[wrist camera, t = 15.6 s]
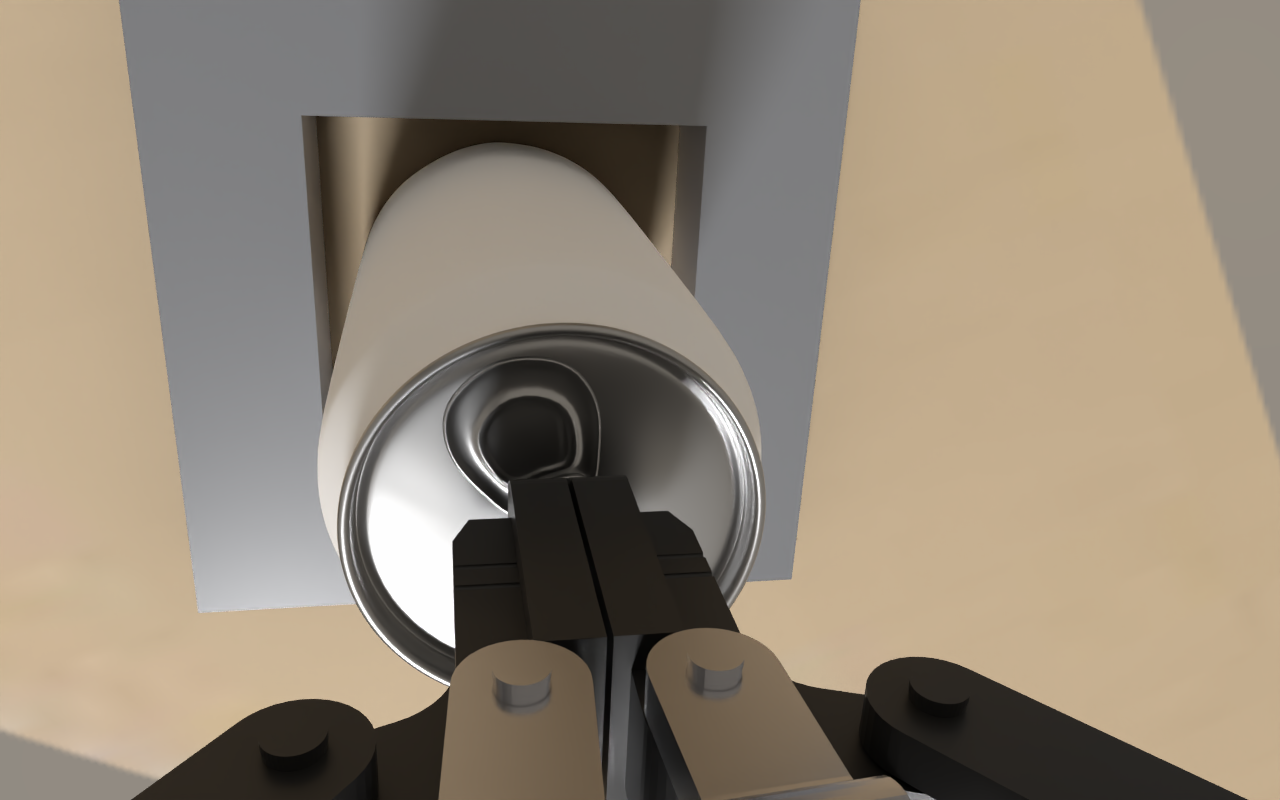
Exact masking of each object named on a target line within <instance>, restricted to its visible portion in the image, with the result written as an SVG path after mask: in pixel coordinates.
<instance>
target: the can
mask: <svg viewBox="0 0 1280 800" xmlns="http://www.w3.org/2000/svg"><path fill="white" fill-rule="evenodd" d="M619 475H626V477H627V478H628V481H629V484H630V486H631V489H632V491H633V494H634V497H635V499H636V502H637V505H638V507H639V510H640V512H650V511H669V512H670V513H672V514H673V515H674V516H675V517H677V518H678V519H679V520H681V521H682V522H683V523H685V524H686V525H687V526H688V527H690V528H691V529H692V530H693V531H694V534H695V536H696V538H697V540H698V542H699V544H700V547H701V549H702V551H703V557H705V558H706V560H707V562H708V564H709V566H710V568H711V571H712V576H714V577H715V579H716V582H717V584H718V586H719V588H720V590H721V592H722V595H723V597H724V599H725V601H726V603H727V606H728V608H729V609H730V608H731V606H732V605H733V603H734V602H735V600H736V599H737V597H738V595H739V594H740V592H741V590H742V588H743V587H744V585H745V583H746V581H747V579H748V577H749V575H750V572H751V570H752V568H753V565H754V562H755V560H756V557H757V554H758V550H759V547H760V543H761V539H762V534H763V529H764V522H765V510H766V492H765V480H764V474H763V468H762V464H761V434H760V425H759V419H758V414H757V410H756V406H755V402H754V399H753V396H752V393H751V390H750V387H749V385H748V382H747V380H746V377H745V375H744V373H743V371H742V368H741V366H740V364H739V362H738V360H737V359H736V357H735V355H734V353H733V352H732V350H731V348H730V347H729V345H728V344H727V342H726V341H725V339H724V338H723V336H722V335H721V333H720V332H719V330H718V329H717V327H716V326H715V325H714V323H713V322H712V321H711V319H710V318H709V317H708V315H707V314H706V313H705V311H704V310H703V309H702V307H701V306H700V305H699V303H698V302H697V301H696V299H695V298H694V297H693V295H692V294H691V293H690V291H689V290H688V289H687V288H686V286H685V285H684V284H683V282H682V281H681V280H680V278H679V277H678V276H677V275H676V273H675V272H674V271H673V269H672V268H671V267H670V266H669V264H668V263H667V262H666V260H665V259H664V258H663V257H662V255H661V254H660V253H659V251H658V250H657V249H656V248H655V246H654V245H653V244H652V243H651V241H650V240H649V239H648V237H647V236H646V235H645V234H644V232H643V231H642V230H641V229H640V227H639V226H638V225H637V224H636V222H635V221H634V220H633V219H632V217H631V216H630V215H629V214H628V212H627V211H626V210H625V209H624V207H623V206H622V205H621V204H620V203H619V201H618V200H617V199H616V198H615V197H614V196H613V194H612V193H611V192H610V191H609V190H608V189H607V188H606V187H605V186H604V185H603V184H602V183H601V182H600V181H599V180H598V179H596V178H595V177H594V176H593V175H592V174H590V173H589V172H588V171H586V170H585V169H583V168H582V167H580V166H579V165H577V164H576V163H574V162H572V161H570V160H568V159H566V158H564V157H562V156H560V155H558V154H555V153H553V152H550V151H547V150H544V149H540V148H537V147H532V146H527V145H521V144H514V143H501V142H493V143H483V144H478V145H473V146H469V147H466V148H463V149H460V150H457V151H454V152H452V153H450V154H447V155H445V156H443V157H441V158H439V159H437V160H435V161H434V162H432V163H430V164H429V165H427V166H425V167H424V168H422V169H421V170H419V171H418V172H416V173H415V174H414V175H412V176H411V177H410V178H409V179H407V180H406V181H405V182H404V183H403V184H402V185H401V186H400V187H399V188H398V189H397V190H396V191H395V192H394V193H393V194H392V196H391V197H390V198H389V199H388V201H387V202H386V204H385V205H384V207H383V208H382V210H381V211H380V213H379V215H378V216H377V218H376V220H375V222H374V224H373V227H372V229H371V231H370V234H369V237H368V239H367V242H366V245H365V249H364V252H363V256H362V259H361V263H360V266H359V270H358V274H357V278H356V281H355V285H354V289H353V293H352V297H351V301H350V305H349V309H348V312H347V317H346V321H345V325H344V329H343V333H342V337H341V341H340V345H339V349H338V353H337V357H336V361H335V365H334V369H333V374H332V378H331V382H330V386H329V391H328V395H327V400H326V404H325V409H324V413H323V419H322V425H321V431H320V437H319V445H318V489H319V498H320V504H321V509H322V513H323V518H324V521H325V524H326V528H327V531H328V533H329V536H330V539H331V541H332V543H333V546H334V548H335V550H336V552H337V554H338V556H339V558H340V561H341V565H342V569H343V573H344V576H345V579H346V582H347V585H348V587H349V590H350V592H351V594H352V597H353V599H354V601H355V603H356V605H357V606H358V608H359V610H360V612H361V613H362V615H363V616H364V618H365V620H366V621H367V622H368V624H369V625H370V627H371V628H372V629H373V630H374V632H375V633H376V634H377V635H378V636H379V637H380V639H381V640H382V641H383V642H384V643H385V644H386V645H387V646H388V647H389V648H390V649H391V650H392V651H393V652H394V653H396V654H397V655H398V656H399V657H400V658H402V659H403V660H404V661H405V662H407V663H408V664H409V665H411V666H412V667H414V668H415V669H417V670H418V671H420V672H421V673H423V674H425V675H426V676H428V677H430V678H432V679H434V680H436V681H438V682H440V683H442V684H444V685H446V686H448V687H449V686H450V682H451V677H452V675H453V673H454V671H455V645H454V600H453V554H452V541H453V540H454V538H455V537H456V536H457V534H458V533H459V532H460V530H461V529H462V528H463V526H464V525H465V524H466V522H467V521H468V520H471V519H494V518H508V482H509V480H516V479H543V478H566V480H567V483H568V480H569V478H570V477H592V476H619Z"/></svg>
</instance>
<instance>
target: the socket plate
mask: <svg viewBox="0 0 1280 800" xmlns="http://www.w3.org/2000/svg"><path fill="white" fill-rule="evenodd" d="M119 4H120V12H121V19H122V27H123V35H124V43H125V50H126V58H127V66H128V74H129V81H130V89H131V97H132V104H133V112H134V120H135V128H136V135H137V143H138V151H139V159H140V166H141V174H142V182H143V189H144V197H145V205H146V213H147V220H148V228H149V236H150V243H151V251H152V259H153V267H154V274H155V282H156V290H157V298H158V305H159V313H160V321H161V328H162V336H163V344H164V352H165V359H166V367H167V375H168V382H169V390H170V398H171V406H172V413H173V421H174V429H175V437H176V444H177V452H178V460H179V467H180V475H181V483H182V491H183V498H184V506H185V514H186V522H187V529H188V537H189V545H190V552H191V560H192V568H193V576H194V583H195V591H196V599H197V606H198V613H204V612H222V611H240V610H257V609H275V608H293V607H310V606H328V605H345V604H356V603H355V601H354V599H353V597H352V594H351V592H350V590H349V587H348V585H347V582H346V579H345V576H344V573H343V569H342V565H341V561H340V558H339V556H338V554H337V552H336V550H335V548H334V546H333V543H332V541H331V539H330V536H329V533H328V531H327V528H326V524H325V521H324V518H323V513H322V509H321V504H320V498H319V489H318V445H319V437H320V431H321V425H322V419H323V413H324V409H325V404H326V400H327V395H328V391H329V386H330V382H331V378H332V374H333V367H332V352H331V337H330V321H329V306H328V291H327V276H326V261H325V246H324V230H323V215H322V200H321V185H320V170H319V155H318V140H317V124H316V116H342V117H380V118H418V119H456V120H495V121H533V122H571V123H609V124H648V125H680V133H679V149H678V166H677V182H676V198H675V215H674V231H673V247H672V264H671V268H672V269H673V271H674V272H675V273H676V275H677V276H678V277H679V278H680V280H681V281H682V282H683V284H684V285H685V286H686V288H687V289H688V290H689V291H690V293H691V294H692V295H693V297H694V298H695V299H696V301H697V302H698V303H699V305H700V306H701V307H702V309H703V310H704V311H705V313H706V314H707V315H708V317H709V318H710V319H711V321H712V322H713V323H714V325H715V326H716V327H717V329H718V330H719V332H720V333H721V335H722V336H723V338H724V339H725V341H726V342H727V344H728V345H729V347H730V348H731V350H732V352H733V353H734V355H735V357H736V359H737V360H738V362H739V364H740V366H741V368H742V371H743V373H744V375H745V377H746V380H747V382H748V385H749V387H750V390H751V393H752V396H753V399H754V402H755V406H756V410H757V414H758V419H759V425H760V434H761V464H762V468H763V474H764V480H765V492H766V510H765V522H764V529H763V534H762V539H761V543H760V547H759V550H758V554H757V557H756V560H755V562H754V565H753V568H752V570H751V572H750V575H749V577H748V579H747V581H746V582H751V581H768V580H786V579H791V578H792V570H793V562H794V553H795V545H796V537H797V528H798V520H799V511H800V503H801V495H802V486H803V478H804V469H805V461H806V453H807V444H808V436H809V428H810V419H811V411H812V402H813V394H814V386H815V377H816V369H817V361H818V352H819V344H820V335H821V327H822V319H823V310H824V302H825V294H826V285H827V277H828V268H829V260H830V252H831V243H832V235H833V226H834V218H835V210H836V201H837V193H838V185H839V176H840V168H841V159H842V151H843V143H844V134H845V126H846V118H847V109H848V101H849V92H850V84H851V76H852V67H853V59H854V51H855V42H856V34H857V25H858V17H859V9H860V0H119Z"/></svg>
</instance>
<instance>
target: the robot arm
mask: <svg viewBox="0 0 1280 800" xmlns="http://www.w3.org/2000/svg"><path fill="white" fill-rule="evenodd" d="M452 554H453V600H454V645H455V671H454V673H453V675H452V677H451V682H450V686H449V688H448V689H447V691H446V692H445V693H444V694H443V695H442V696H441V697H440V698H439V699H438V700H437V701H436V702H434V703H433V704H432V705H430V706H429V707H427V708H426V709H424V710H423V711H421V712H419V713H417V714H415V715H413V716H411V717H409V718H406V719H403V720H400V721H398V722H395V723H391V724H388V725H385V726H382V727H378V728H375V729H374V728H373V726H372V724H371V723H370V721H369V720H368V719H367V717H366V716H364V715H363V714H362V713H361V712H360V711H358V710H356V709H354V708H353V707H351V706H349V705H346V704H343V703H340V702H335V701H330V700H322V699H302V700H295V701H288V702H284V703H280V704H276V705H273V706H270V707H267V708H264V709H261V710H259V711H257V712H255V713H253V714H251V715H249V716H247V717H246V718H244V719H243V720H241V721H240V722H238V723H237V724H235V725H234V726H232V727H231V728H230V729H228V730H227V731H226V732H224V733H223V734H221V735H220V736H219V737H217V738H216V739H214V740H213V741H212V742H210V743H209V744H208V745H206V746H205V747H203V748H202V749H201V750H199V751H198V752H197V753H195V754H194V755H192V756H191V757H190V758H188V759H187V760H185V761H184V762H183V763H181V764H180V765H179V766H177V767H176V768H174V769H173V770H172V771H170V772H169V773H168V774H166V775H165V776H163V777H162V778H161V779H159V780H158V781H156V782H155V783H154V784H152V785H151V786H150V787H148V788H147V789H145V790H144V791H143V792H141V793H140V794H139V795H137V796H136V797H134V798H133V799H132V800H1247V799H1245V798H1243V797H1241V796H1239V795H1237V794H1234V793H1232V792H1230V791H1228V790H1226V789H1224V788H1222V787H1219V786H1217V785H1215V784H1213V783H1211V782H1209V781H1207V780H1205V779H1202V778H1200V777H1198V776H1196V775H1194V774H1192V773H1190V772H1187V771H1185V770H1183V769H1181V768H1179V767H1177V766H1175V765H1172V764H1170V763H1168V762H1166V761H1164V760H1162V759H1160V758H1158V757H1155V756H1153V755H1151V754H1149V753H1147V752H1145V751H1143V750H1140V749H1138V748H1136V747H1134V746H1132V745H1130V744H1128V743H1125V742H1123V741H1121V740H1119V739H1117V738H1115V737H1113V736H1111V735H1108V734H1106V733H1104V732H1102V731H1100V730H1098V729H1096V728H1093V727H1091V726H1089V725H1087V724H1085V723H1083V722H1081V721H1078V720H1076V719H1074V718H1072V717H1070V716H1068V715H1066V714H1064V713H1061V712H1059V711H1057V710H1055V709H1053V708H1051V707H1049V706H1046V705H1044V704H1042V703H1040V702H1038V701H1036V700H1034V699H1031V698H1029V697H1027V696H1025V695H1023V694H1021V693H1019V692H1017V691H1014V690H1012V689H1010V688H1008V687H1006V686H1004V685H1002V684H999V683H997V682H995V681H993V680H991V679H989V678H987V677H984V676H982V675H980V674H978V673H976V672H974V671H972V670H970V669H967V668H965V667H962V666H960V665H957V664H954V663H951V662H948V661H944V660H939V659H934V658H926V657H906V658H898V659H894V660H890V661H888V662H885V663H883V664H881V665H880V666H878V667H877V668H875V669H874V670H873V671H872V673H871V674H870V675H869V677H868V679H867V683H866V689H865V695H863V694H856V693H849V692H842V691H835V690H828V689H821V688H816V687H811V686H807V685H803V684H800V683H796V682H794V681H791V679H790V677H789V676H788V674H787V672H786V671H785V669H784V668H783V666H782V664H781V663H780V661H779V660H778V658H777V657H776V656H775V654H774V653H773V652H772V651H771V650H770V649H768V648H767V647H766V646H765V645H763V644H762V643H760V642H759V641H757V640H755V639H753V638H751V637H749V636H746V635H743V634H741V633H740V632H739V629H738V627H737V625H736V623H735V621H734V619H733V616H732V614H731V612H730V610H729V608H728V606H727V603H726V601H725V599H724V597H723V595H722V592H721V590H720V588H719V586H718V584H717V582H716V579H715V577H714V576H712V571H711V568H710V566H709V564H708V562H707V560H706V558H705V557H703V551H702V549H701V547H700V544H699V542H698V540H697V538H696V536H695V534H694V531H693V530H692V529H691V528H690V527H688V526H687V525H686V524H685V523H683V522H682V521H681V520H679V519H678V518H677V517H675V516H674V515H673V514H672V513H670V512H669V511H650V512H640V510H639V507H638V505H637V502H636V499H635V497H634V494H633V491H632V489H631V486H630V484H629V481H628V478H627V477H626V475H619V476H592V477H570V478H569V480H568V483H567V480H566V478H543V479H516V480H509V482H508V518H494V519H471V520H468V521H467V522H466V524H465V525H464V526H463V528H462V529H461V530H460V532H459V533H458V534H457V536H456V537H455V538H454V540H453V541H452Z"/></svg>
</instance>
